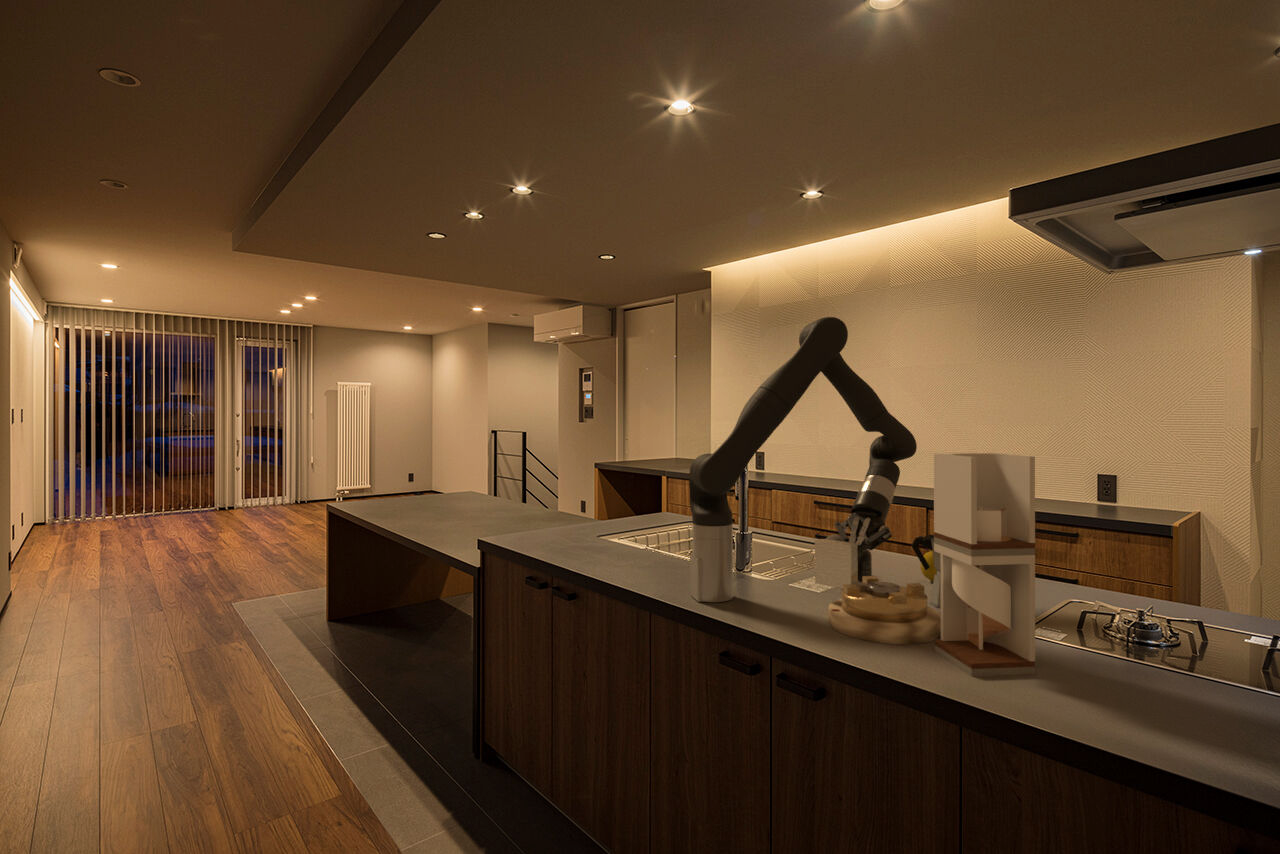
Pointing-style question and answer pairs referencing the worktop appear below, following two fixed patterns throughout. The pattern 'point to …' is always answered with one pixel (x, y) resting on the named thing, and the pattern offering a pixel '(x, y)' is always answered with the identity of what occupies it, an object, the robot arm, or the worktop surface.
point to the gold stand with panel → (866, 586)
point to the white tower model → (986, 561)
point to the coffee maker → (929, 544)
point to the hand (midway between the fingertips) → (850, 562)
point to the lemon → (930, 571)
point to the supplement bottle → (864, 565)
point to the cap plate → (885, 627)
